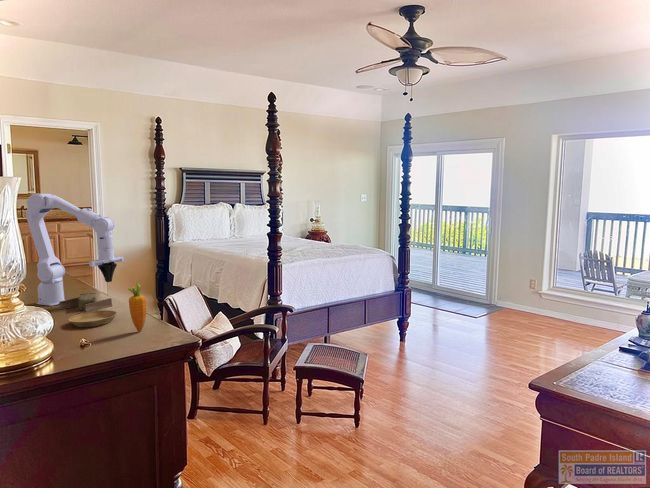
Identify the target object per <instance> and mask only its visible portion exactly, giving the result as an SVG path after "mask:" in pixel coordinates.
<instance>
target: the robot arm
mask: <svg viewBox="0 0 650 488" xmlns="http://www.w3.org/2000/svg"><path fill="white" fill-rule="evenodd" d="M26 205H27V206H26V207H27V208H26V213H25V217H26V218H25V219H26V221H27V224H28V227H29V231H30V233H31V237H32V240H33V243H34V247H35V250H36V252H37V257H38V258H39V259H38V260H39V261H38V262H37V264H36V268H37V274H36V276H37V278H38V280H39V281H40V283H38V286H37V298H38V302H36V305H42V306H49V307H50V306H51V307H52V306H56V305H60V304H59V302H60V301H64V300H65V291H64V280H63V279H64V278H63V277H64V276H65V274H66V269H65V267H64V265H62V263H61V260H60V259H59V258H58V257H56V255H55V252H54V248H53V246H52V242H51V239H50V237H49V233H48V230H47V226H46V224H45V220H44V218H45V216H46V215H47V214H48V213H49V212H50V211H51V210H53V209H58V210H61V211H62V212H66V213H68V214H70V215H72V216H74V217H76V219H77V221H78V222H80V223H82V224H84V225H86V226H88V227H89V228H92V229H93V231H94V232H95V233H96V240H97V241H96V242H97V253H98V254H97V255H98V259H95V260H91V261H88V263H89V264H88V266H89V267H92V268H93V267H96V266H97V267H98V269H99V270H100V271H101V274H102V275H103V278H104V281H105V282H106V283H112V281H113V276H114V272H115V269H116V268H117V266H118V265H117V263H119V262H120V263H121V262H124V261H125V259H124V257H125V256H115V247H114V236H113V230H114V228H115V222H114V220H113V219H112V218H110V217H108V216H105V217H103V214H101V213H100V214H98V213H96V212H94V211H93V209H92V208H86V207H83V208H82V209H81V208H79V207H78V206H76V205H74V204H73V203H71V202H69V201H67V200H65V199H63V198H61V197H60V196H58V195H54V194H53V193H51V192H50V193H49V192H47V193H37V192H35V193H32V194H30V196H29V197H28V198H27V200H26Z"/></svg>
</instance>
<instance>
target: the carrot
mask: <svg viewBox="0 0 650 488" xmlns="http://www.w3.org/2000/svg"><path fill="white" fill-rule="evenodd" d="M141 288H142V286H141V285H140V283H138V282H137V283H136V288H135V286H131V287H128V288H127V289H128V291H130V292H131V293H132V294H133V295H132V296H130V297H128V305H129V306H128V307H129V313H130V317H131V321H132V323H133V326H134V327H135V329H136V330H137V332H139V333H141V332H142V330H143V328H144V325H145V322H146V317H147V299H146V296H144V295H142V294H140V291H141Z"/></svg>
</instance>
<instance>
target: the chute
mask: <svg viewBox="0 0 650 488" xmlns="http://www.w3.org/2000/svg"><path fill="white" fill-rule="evenodd" d="M79 297H80V296H78V297H73V298H69V299H64V301H60V302H59V304H58V305H59V310H65V309H70V308H73V307H77V306H78V307H79ZM96 301H97V302H93V303H89V304H85V305H84V310H83V311H84V313H86V312H92V311H100V310H103V309H106V308H110V307H112V306H113V300H112V298H110V297H109V298H105V299H102V300H96Z"/></svg>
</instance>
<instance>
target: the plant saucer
mask: <svg viewBox="0 0 650 488" xmlns="http://www.w3.org/2000/svg"><path fill="white" fill-rule="evenodd" d="M117 313H118V312H117V311H115V310H109V309H108V310H106V309H105V310H103V309H101V310H96V311H92V312H86V313H85V312H82V313H78V314H75V315H71V316H70V317H69V318H68V322H70V323H71V324H72V325H74V326H75V327H78V328H93V327H97V326H98V327H99V326H103V325H106V324H109V323H110V322H112V321H113V320H114V319H115V317H116V316H117Z"/></svg>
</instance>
